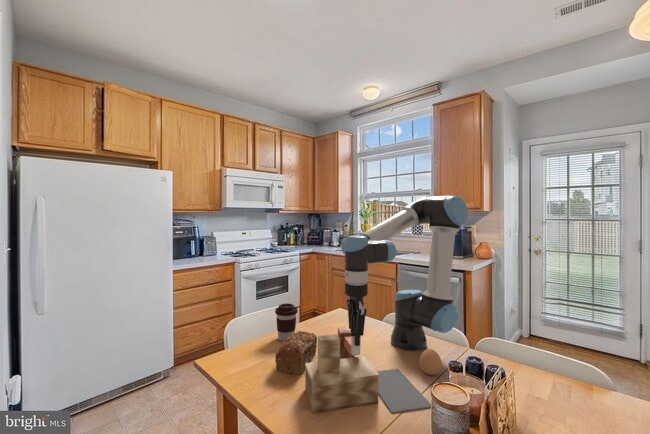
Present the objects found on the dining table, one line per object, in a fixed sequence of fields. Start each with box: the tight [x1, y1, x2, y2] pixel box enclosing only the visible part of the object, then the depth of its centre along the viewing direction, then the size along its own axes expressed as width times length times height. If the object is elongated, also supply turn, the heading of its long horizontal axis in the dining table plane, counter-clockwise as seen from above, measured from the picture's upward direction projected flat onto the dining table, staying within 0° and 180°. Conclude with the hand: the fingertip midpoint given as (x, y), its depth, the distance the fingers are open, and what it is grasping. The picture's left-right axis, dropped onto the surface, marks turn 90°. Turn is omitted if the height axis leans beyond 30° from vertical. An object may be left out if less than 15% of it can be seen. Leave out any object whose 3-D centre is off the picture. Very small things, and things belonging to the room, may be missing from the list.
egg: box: [419, 348, 443, 376], centre depth 107 cm, size 7×7×8 cm
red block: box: [337, 326, 354, 356], centre depth 108 cm, size 3×16×4 cm, turn 13°
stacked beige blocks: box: [305, 333, 379, 387], centre depth 93 cm, size 20×12×11 cm, turn 105°
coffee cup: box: [274, 303, 298, 342], centre depth 137 cm, size 10×10×15 cm
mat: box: [376, 368, 432, 414], centre depth 98 cm, size 13×22×1 cm, turn 13°
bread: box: [275, 330, 318, 376], centre depth 115 cm, size 19×11×10 cm, turn 164°
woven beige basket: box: [304, 329, 379, 414], centre depth 98 cm, size 20×22×14 cm
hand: (355, 353), depth 100 cm, fingers closed
